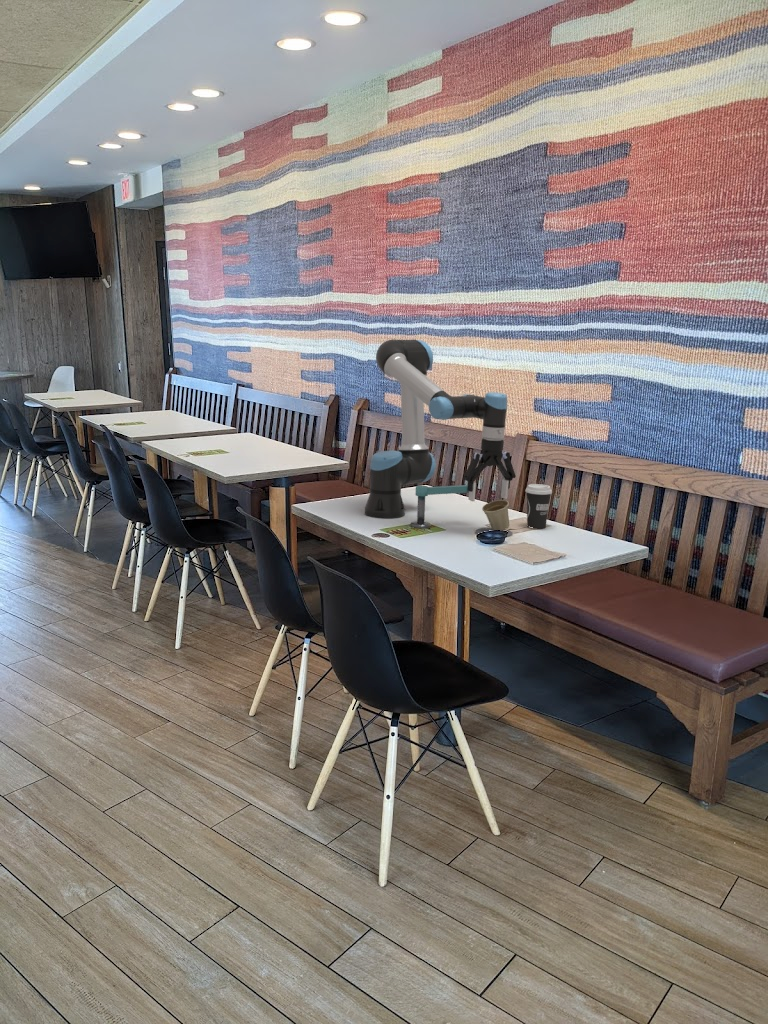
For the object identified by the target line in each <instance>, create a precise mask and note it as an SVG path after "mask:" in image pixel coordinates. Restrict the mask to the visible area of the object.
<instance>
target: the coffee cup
mask: <svg viewBox="0 0 768 1024" xmlns="http://www.w3.org/2000/svg"><path fill="white" fill-rule="evenodd" d="M525 492H526V524H527V525H528V526H530V527H533V528H537V529H536V530H543V529H546V526H547V521H548V519H547V518H548V514H549V507H550V501H551V496H552V494H553V490H552V488H551V486H550V485H548V484H542V483H541V484H538V483H530V484H527V487H526V488H525ZM527 525H526V526H527Z"/></svg>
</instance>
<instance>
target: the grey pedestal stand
mask: <svg viewBox="0 0 768 1024" xmlns="http://www.w3.org/2000/svg"><path fill="white" fill-rule="evenodd" d="M425 510H426V496H417V515H416V517H417V518H416V520H415V521H412V522H411V523H410V527H411V528H413V527H414V528H413V529H419V530H422V529H424V530H425V529H430V527H431V523H430V522H429V521H425V516H426V515H425V514H426V513H425V512H426V511H425Z"/></svg>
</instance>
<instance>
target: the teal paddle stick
mask: <svg viewBox="0 0 768 1024" xmlns="http://www.w3.org/2000/svg"><path fill="white" fill-rule="evenodd" d="M449 494H469V491H468V484H464V485H444V486H426V485H416V486H415V494H414V495H415V496H416V497H418V496H425V497H428V496H431V495H432V496H433V495H449Z"/></svg>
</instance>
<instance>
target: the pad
mask: <svg viewBox="0 0 768 1024" xmlns="http://www.w3.org/2000/svg"><path fill="white" fill-rule="evenodd" d="M489 530H492V528H491V527H481V528H477V529H475V530H474V534H476V535H477V534H478V533H481V532H484V531H489ZM504 530H507V531H508V536H507V537H506V538H509V537H511V536H513V531H511V530H509V529H504Z"/></svg>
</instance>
